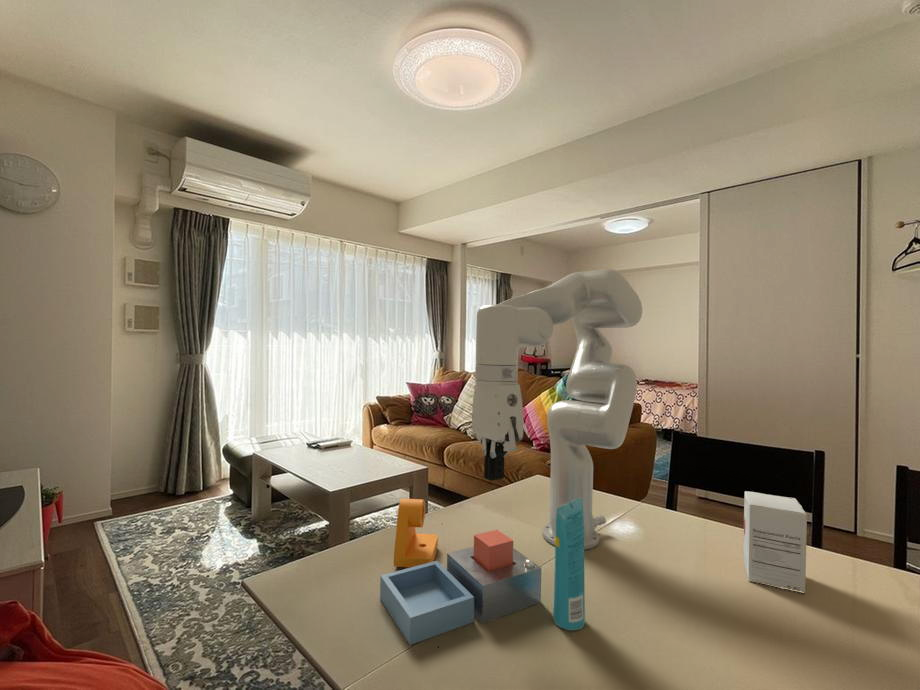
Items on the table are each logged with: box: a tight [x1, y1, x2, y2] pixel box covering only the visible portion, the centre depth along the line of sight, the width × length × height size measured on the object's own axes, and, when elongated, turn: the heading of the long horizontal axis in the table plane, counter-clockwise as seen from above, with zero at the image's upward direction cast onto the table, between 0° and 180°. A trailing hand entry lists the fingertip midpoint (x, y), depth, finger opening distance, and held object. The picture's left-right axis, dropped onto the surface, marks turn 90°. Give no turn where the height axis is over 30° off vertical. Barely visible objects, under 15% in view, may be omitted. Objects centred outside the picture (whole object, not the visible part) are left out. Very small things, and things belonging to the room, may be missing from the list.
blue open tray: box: [379, 560, 475, 646], centre depth 71 cm, size 11×13×4 cm
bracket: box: [393, 498, 439, 568], centre depth 89 cm, size 11×7×12 cm, turn 175°
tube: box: [553, 497, 586, 631], centre depth 69 cm, size 7×5×19 cm, turn 140°
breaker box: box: [446, 546, 542, 624], centre depth 76 cm, size 12×12×7 cm
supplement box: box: [742, 490, 808, 593], centre depth 84 cm, size 9×9×15 cm
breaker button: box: [473, 529, 514, 572], centre depth 76 cm, size 5×5×7 cm
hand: (493, 478), depth 76 cm, fingers closed
